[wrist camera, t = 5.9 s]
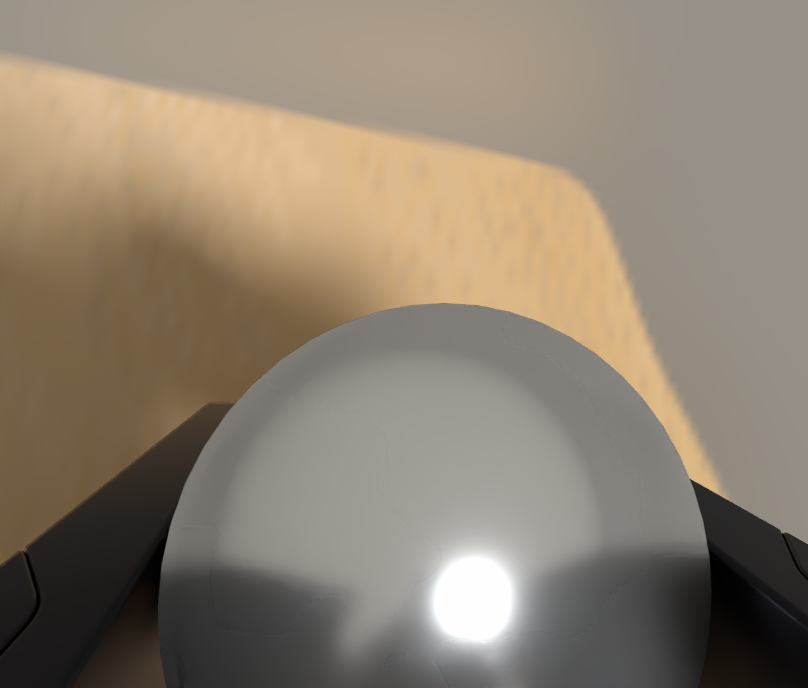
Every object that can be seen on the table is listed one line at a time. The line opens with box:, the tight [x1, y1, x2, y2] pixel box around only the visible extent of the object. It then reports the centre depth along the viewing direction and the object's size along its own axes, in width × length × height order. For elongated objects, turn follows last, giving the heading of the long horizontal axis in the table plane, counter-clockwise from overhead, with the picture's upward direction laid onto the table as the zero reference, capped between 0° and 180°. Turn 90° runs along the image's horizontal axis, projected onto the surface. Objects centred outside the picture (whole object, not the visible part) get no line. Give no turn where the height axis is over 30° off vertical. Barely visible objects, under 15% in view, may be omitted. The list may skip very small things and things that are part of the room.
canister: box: [158, 303, 712, 688], centre depth 10 cm, size 5×5×10 cm
